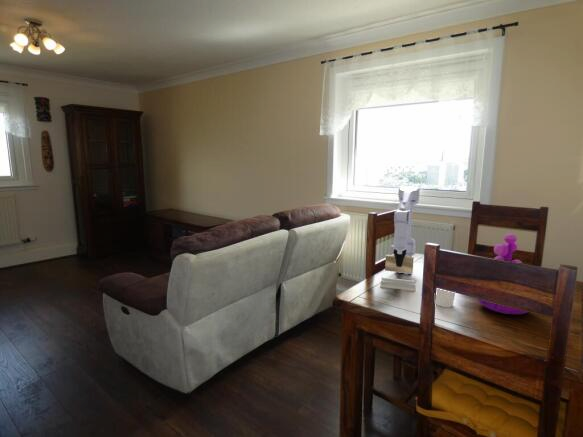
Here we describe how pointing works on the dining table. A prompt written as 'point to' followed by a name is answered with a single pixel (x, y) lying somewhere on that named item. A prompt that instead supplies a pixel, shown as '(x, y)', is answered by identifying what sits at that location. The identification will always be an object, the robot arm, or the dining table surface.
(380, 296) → the dining table surface
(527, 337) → the dining table surface
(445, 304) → the white cup
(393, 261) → the tan rectangular block
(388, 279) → the track board
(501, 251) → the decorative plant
